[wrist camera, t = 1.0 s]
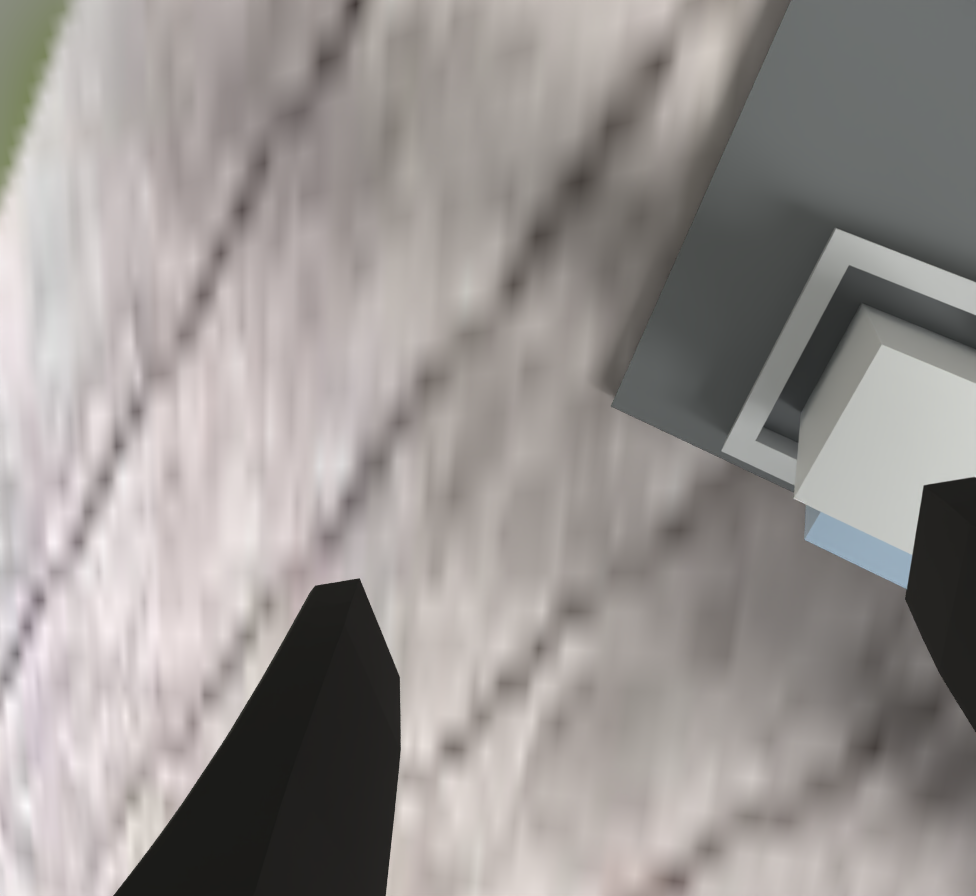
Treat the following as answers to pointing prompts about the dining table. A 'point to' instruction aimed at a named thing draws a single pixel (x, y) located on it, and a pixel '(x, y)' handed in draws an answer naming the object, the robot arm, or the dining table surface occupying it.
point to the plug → (883, 438)
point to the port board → (819, 225)
